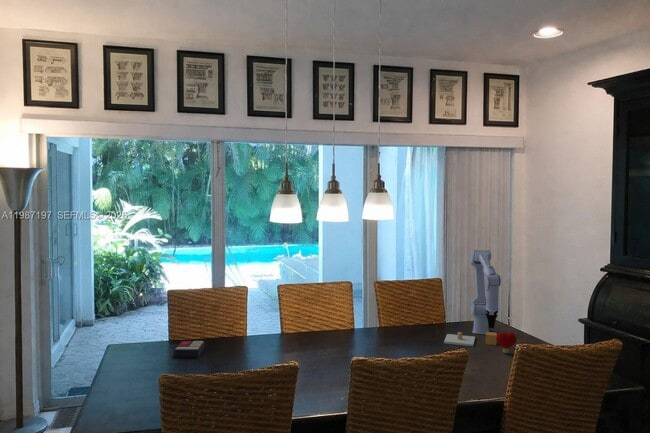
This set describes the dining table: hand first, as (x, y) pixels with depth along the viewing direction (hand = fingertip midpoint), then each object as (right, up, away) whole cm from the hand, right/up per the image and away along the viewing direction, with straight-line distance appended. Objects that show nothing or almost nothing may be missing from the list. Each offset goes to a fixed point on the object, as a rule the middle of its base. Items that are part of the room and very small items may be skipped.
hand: (491, 326), depth 264 cm
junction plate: (-15, -8, +5) cm, 17 cm away
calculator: (-145, -9, -17) cm, 146 cm away
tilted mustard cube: (0, -9, +1) cm, 9 cm away
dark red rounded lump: (+2, -10, -15) cm, 18 cm away
